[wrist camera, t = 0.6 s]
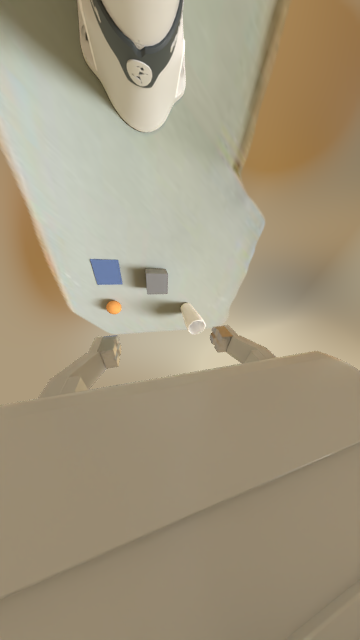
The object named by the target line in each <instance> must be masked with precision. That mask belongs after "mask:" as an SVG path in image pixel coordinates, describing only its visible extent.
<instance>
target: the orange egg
mask: <svg viewBox="0 0 360 640" xmlns="http://www.w3.org/2000/svg"><path fill="white" fill-rule="evenodd" d="M106 309H107V311H108V312H109V313H111V314H117V313H119V312H120V311H121V305H120V303H119V302H117V301H110V302H109V303H108V304H107V306H106Z"/></svg>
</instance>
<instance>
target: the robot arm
mask: <svg viewBox="0 0 360 640" xmlns="http://www.w3.org/2000/svg"><path fill="white" fill-rule="evenodd" d="M77 3H78V17H79V31H80V44H81V49H82V53H83V56H84V59H85V61H86V63H87V64H88V66H89V67H90V68H91V70H92V71H93V72H94V74H95V75H96V76H97V77H98V78H99V80H100V81H101V83H102V84H103V86H104V88H105V90H106V92H107V95H108V97H109V99H110V101H111V102H112V104H113V106H114V108H115V109H116V111H117V112H118V113H119V115H120V116H121V117H122V118H123V120H124V121H125V122H126V123H128V124H129V125H130V126H131V127H133V128H134V129H136V130H138V131H141V132H152V131H155V130H156V129H158V128H159V127H160V126H161V125H162V124H163V123H164V122H165V120H166V119H167V117H168V115H169V112H170V110H171V108H172V106H173V104H174V103H175V102H177V101H178V100H179V99H180V98H181V97H182V96H183V94H184V91H185V85H186V77H185V57H184V50H185V40H184V37H183V16H182V12H183V5H184V0H77ZM87 37H88V41H89V42H88V41H87V40H86V38H87ZM180 74H181V75H180ZM210 340H211V343H212V344H214V345H215V349H216V351H217V352H227V353H228V354H229V355H231V356H232V357H234V358H235V359H236V360H238V361H239V362H240V363H242V364H237V365H231V366H226V367H220V368H214V369H208V370H202V371H196V372H190V373H184V374H179V375H173V376H167V377H161V378H155V379H149V380H144V381H138V382H133V383H126V384H121V385H115V386H109V387H103V388H97V389H92V390H89V389H90V388H91V387H92V385H93V384H94V383H95V382H96V381H97V380H98V378H99V377H100V376H101V375H102V374H103V373H104V371H105V370H106V369H108V368H113V367H118V366H119V360H120V359H119V356H120V355H121V344H120V343H119V337H118V336H117V335H116V336H104V337H96V338H95V339H94V341H93V343H92V346H91V348H90V350H89V352H88V353H86V354H84V355H83V356H82V357H80V358H79V359H77V360H76V361H74V362H73V363H72V364H71V365H69V366H68V367H66V368H65V369H64V370H62V371H61V372H60V373H58V374H57V375H55V376H54V377H53V378H51V379H50V381H49V382H48V384H47V385H46V387H45V388H44V390H43V391H42V393H41V394H40V396H39V397H38V399H33V400H28V401H22V402H16V403H10V404H5V405H0V640H360V371H359V370H358V369H357V368H355V367H353V366H352V365H350V364H348V363H347V362H344V361H342V360H340V359H338V358H335V357H333V356H330V355H328V354H325V353H321V352H318V351H312V352H307V353H301V354H295V355H289V356H283V357H275V356H274V355H273V354H272V353H271V352H270V351H269V350H268V349H267V348H265V347H263V346H261V345H259V344H257V343H255V342H253V341H250V340H248V339H246V338H244V337H242V336H238V335H237V333H236V332H235V331H234V330H233V329H232V328H231V327H230V326H229V325H224V326H216V327H213V328H212V333H211V335H210Z"/></svg>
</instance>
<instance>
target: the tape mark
mask: <svg viewBox="0 0 360 640" xmlns="http://www.w3.org/2000/svg"><path fill="white" fill-rule="evenodd" d="M90 261H91V264H92V268H93V271H94V274H95V278H96V281H97V284H98V285H102V284H122V279H121V274H120V268H119V263H118V260H100V259H90Z"/></svg>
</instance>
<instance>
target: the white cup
mask: <svg viewBox="0 0 360 640" xmlns="http://www.w3.org/2000/svg"><path fill="white" fill-rule="evenodd" d="M181 312H182V315H183V318H184V322H185V325H186V327H187V329H188V331H189V333H191V334H199V333H201V332H202V331H203V330H204V329H205V322H204V320H203V319H202V317H201V316H200V315H199V314H198V312H197V311H196V310H195V309H194V308H193V307H192V305H191V304H190V303H184V304H183V305H182V306H181Z"/></svg>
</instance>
